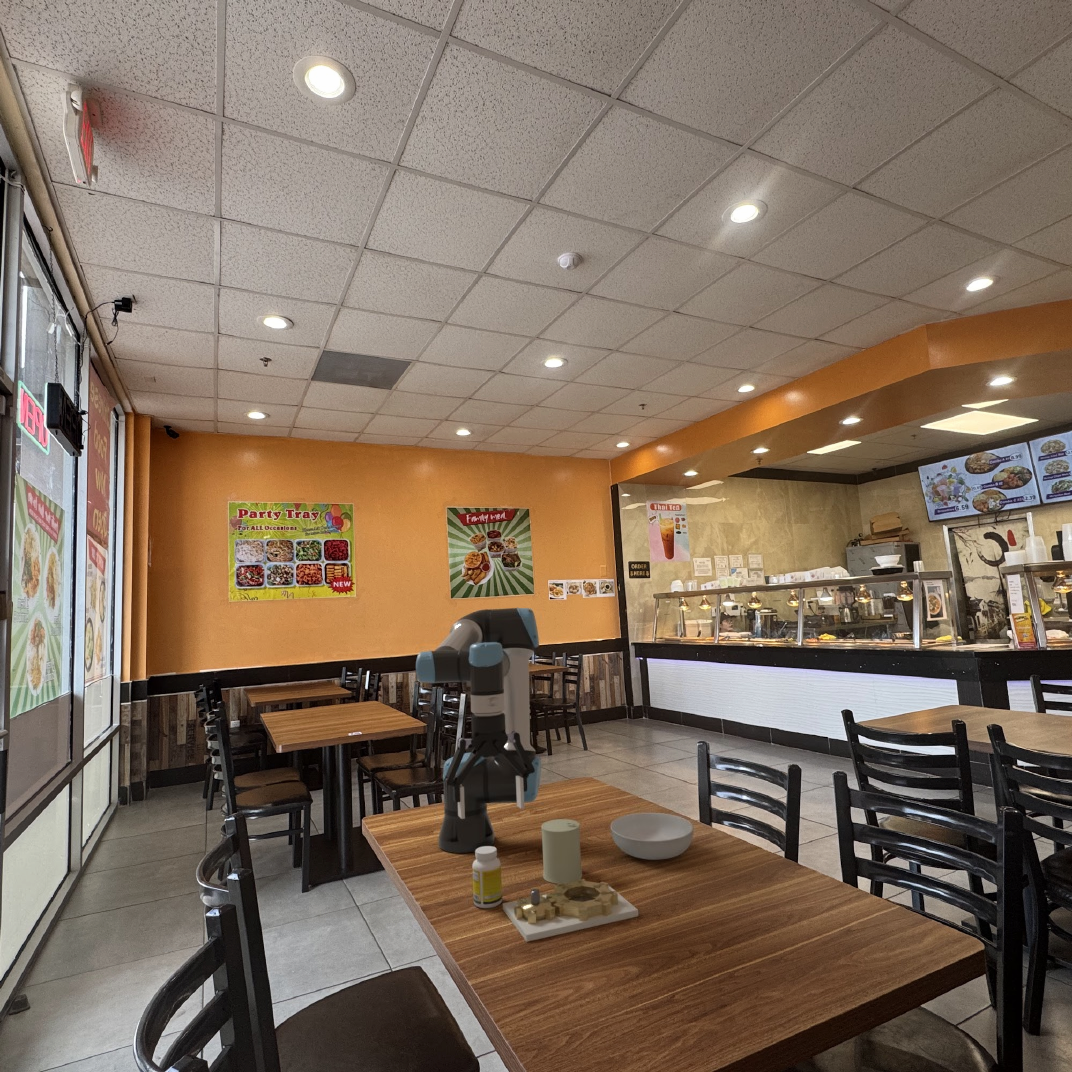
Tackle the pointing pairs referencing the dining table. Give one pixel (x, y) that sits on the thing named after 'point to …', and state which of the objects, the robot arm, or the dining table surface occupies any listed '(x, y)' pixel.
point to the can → (561, 851)
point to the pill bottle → (487, 878)
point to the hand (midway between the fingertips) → (491, 812)
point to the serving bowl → (652, 835)
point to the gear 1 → (535, 908)
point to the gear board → (568, 920)
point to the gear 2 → (583, 899)
